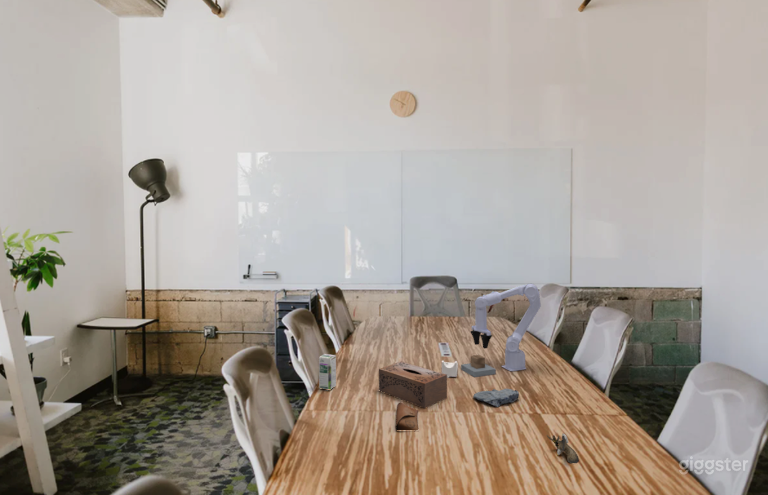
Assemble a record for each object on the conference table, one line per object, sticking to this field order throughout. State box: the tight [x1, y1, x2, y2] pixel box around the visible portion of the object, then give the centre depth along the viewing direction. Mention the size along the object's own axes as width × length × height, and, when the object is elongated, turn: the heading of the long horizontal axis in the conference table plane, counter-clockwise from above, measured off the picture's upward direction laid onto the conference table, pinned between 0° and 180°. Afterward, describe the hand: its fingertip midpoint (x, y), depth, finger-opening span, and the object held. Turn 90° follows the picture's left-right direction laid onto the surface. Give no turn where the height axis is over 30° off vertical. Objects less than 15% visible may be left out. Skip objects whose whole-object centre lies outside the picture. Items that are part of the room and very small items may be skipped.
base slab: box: [460, 362, 497, 378], centre depth 204 cm, size 12×12×2 cm
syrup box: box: [318, 353, 337, 390], centre depth 183 cm, size 6×6×14 cm
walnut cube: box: [470, 354, 486, 369], centre depth 203 cm, size 5×5×5 cm
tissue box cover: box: [378, 361, 448, 409], centre depth 176 cm, size 26×14×10 cm, turn 45°
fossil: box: [473, 388, 520, 408], centre depth 170 cm, size 13×18×4 cm
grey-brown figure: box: [546, 433, 580, 464], centre depth 127 cm, size 8×7×9 cm
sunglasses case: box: [395, 401, 419, 431], centre depth 151 cm, size 18×7×7 cm
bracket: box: [441, 360, 459, 379], centre depth 202 cm, size 13×7×8 cm, turn 168°
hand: (480, 346), depth 213 cm, fingers open, 7 cm apart
